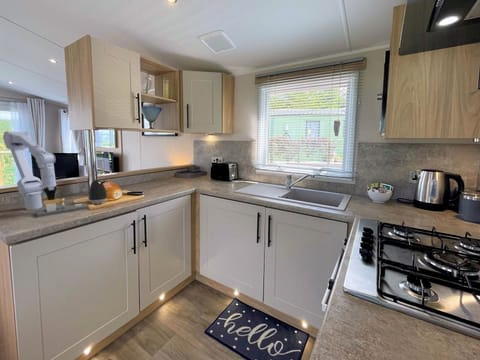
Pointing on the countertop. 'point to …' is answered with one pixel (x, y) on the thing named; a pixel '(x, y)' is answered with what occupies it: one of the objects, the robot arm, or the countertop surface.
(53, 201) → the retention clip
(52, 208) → the plug
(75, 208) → the grey recessed block
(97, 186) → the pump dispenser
